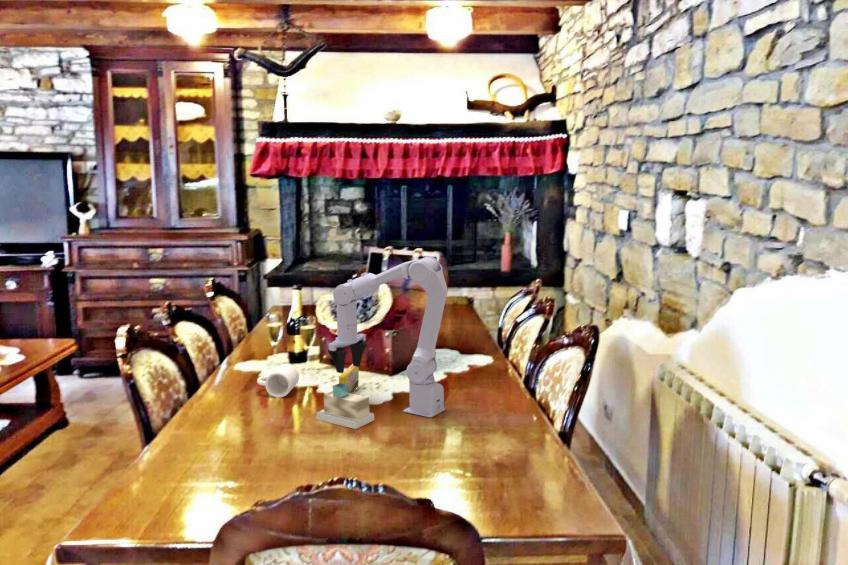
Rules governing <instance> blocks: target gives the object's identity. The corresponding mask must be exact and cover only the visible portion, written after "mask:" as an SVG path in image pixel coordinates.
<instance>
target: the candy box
mask: <svg viewBox="0 0 848 565" xmlns="http://www.w3.org/2000/svg"><path fill="white" fill-rule="evenodd" d="M359 369H360V367H356V366H353V363H351V365H350V366H349V367H348V368H346V369H345V370H344V372H343V373H341V374H340V375H339V377H338V384H339V383H342V384H347V385H348V393H352V394H354V393H355V392H356V391H357V389H358V388H359V381H360V380H359V377H360V375H359V371H360V370H359ZM357 387H358V388H357ZM356 388H357V389H356ZM354 391H355V392H354ZM353 392H354V393H353Z"/></svg>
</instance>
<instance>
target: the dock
mask: <svg viewBox="0 0 848 565" xmlns="http://www.w3.org/2000/svg"><path fill="white" fill-rule="evenodd" d="M315 414H316V417H315V418H316V420H318V421H321V422H324V423H330V424H334V425H338V426H341V427H347V428H350V429H353V430H357V429H359V428H361V427H364V426H366V425H367V424H369V423H371V422H373V421H375V413H374V412H370V411H369V415H368V416H366V417H363V418H361V419H359V420H355V419H351V418H347V417H343V416H339V415H334V414H330V413H326V412H324V409H321V410H320V411H316V412H315Z"/></svg>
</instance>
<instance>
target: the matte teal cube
mask: <svg viewBox="0 0 848 565" xmlns="http://www.w3.org/2000/svg"><path fill="white" fill-rule="evenodd" d="M332 391H333V397H338V398H343V397H346V396H348V395H349V393H348V385H347V384H342V383H339V382H338V383H337V384H334V385H332Z"/></svg>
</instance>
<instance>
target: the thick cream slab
mask: <svg viewBox="0 0 848 565" xmlns="http://www.w3.org/2000/svg"><path fill="white" fill-rule="evenodd" d="M323 410H324V412H326V413H330V414H334V415H339V416H343V417H347V418H351V419H355V420H359V419H361V418H363V417H366V416H368V415H369V412H370V397H369V396H366V395H365V396H364V395H359V394H355V393H353V394H352V393H349V395H348V396H346V397H343V398H338V397H333V390H332V391H330V392H326V393H324V394H323Z"/></svg>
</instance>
